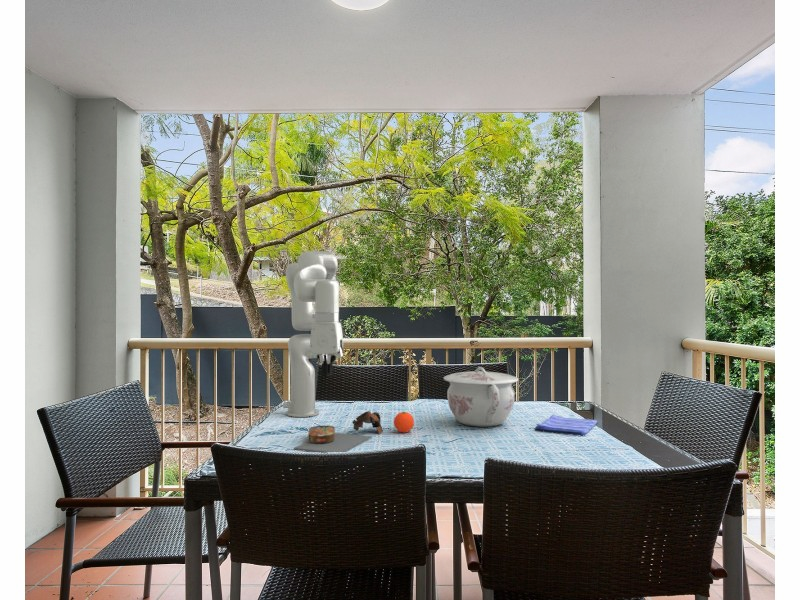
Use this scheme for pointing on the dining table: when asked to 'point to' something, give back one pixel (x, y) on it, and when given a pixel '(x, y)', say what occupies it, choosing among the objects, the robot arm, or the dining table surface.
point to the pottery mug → (368, 421)
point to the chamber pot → (481, 397)
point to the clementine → (403, 422)
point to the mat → (335, 443)
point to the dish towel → (566, 425)
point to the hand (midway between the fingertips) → (327, 375)
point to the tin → (321, 434)
